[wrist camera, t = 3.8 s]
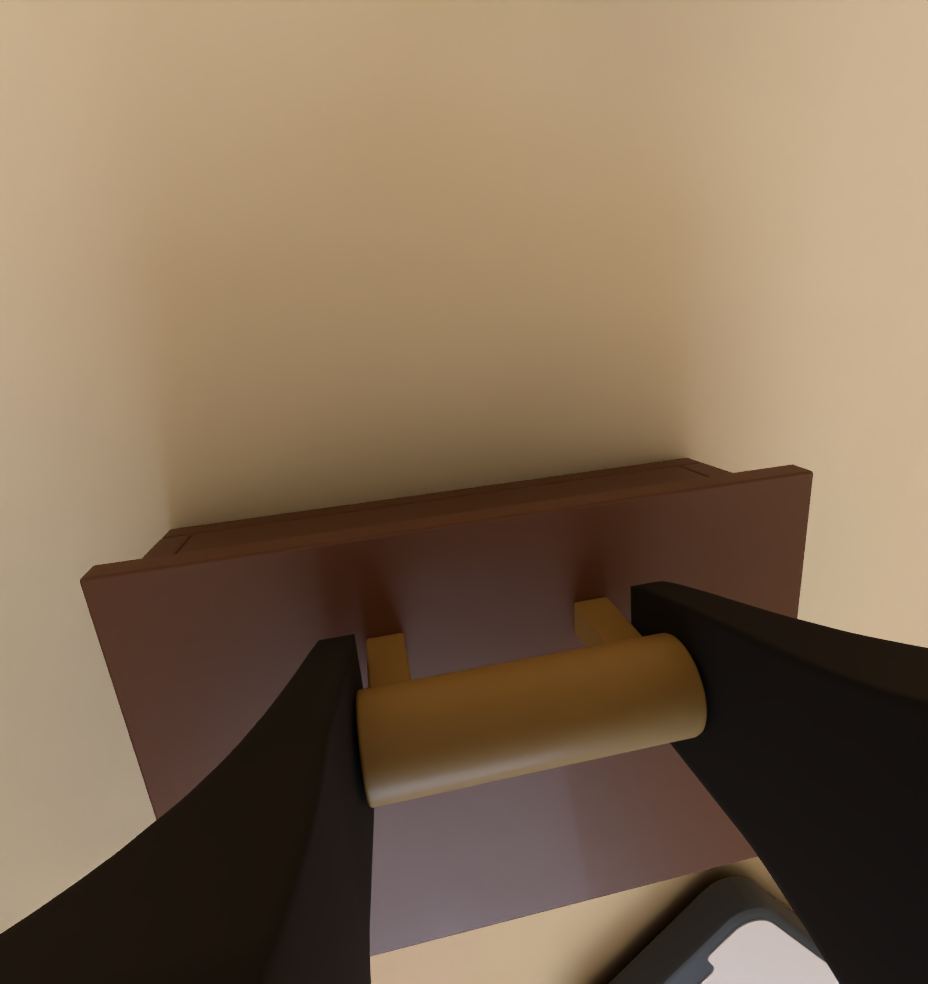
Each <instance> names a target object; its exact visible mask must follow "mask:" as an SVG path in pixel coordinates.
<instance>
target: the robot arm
mask: <svg viewBox="0 0 928 984" xmlns="http://www.w3.org/2000/svg"><path fill="white" fill-rule="evenodd" d="M630 587H631V624H632V626H633V627H634V628H635V629H636V630H637V631H638V632H639V633H640V634H641V635H642V637H643V636H649V635H654V634H659V633H668V634H671V635H673V636H675V637H676V638H678V639H679V640H680V641H681V642H682V643H683V645H684V646H685V647H686V649H687V650H688V652H689V653H690V655H691V657H692V658H693V660H694V662H695V664H696V667H697V669H698V671H699V674H700V677H701V680H702V683H703V687H704V691H705V696H706V703H707V719H706V724H705V727H704V730H703V731H702V733H701V734H699V735H698V736H697V737H694V738H689V739H685V740H680V741H676V742H671V743H670V744H671V745H672V746H673V748H674V749H675V750H676V752H677V753H678V754H679V755H680V757H681V758H682V759H683V761H684V762H685V763H686V764H687V766H688V767H689V768H690V769H691V771H692V772H693V773H694V774H695V776H696V777H697V778H698V780H699V781H700V782H701V783H702V785H703V786H704V787H705V788H706V790H707V791H708V792H709V793H710V795H711V796H712V797H713V798H714V800H715V801H716V802H717V803H718V805H719V806H720V807H721V809H722V810H723V811H724V812H725V814H726V815H727V816H728V817H729V819H730V820H731V821H732V822H733V824H734V825H735V826H736V827H737V829H738V830H739V831H740V832H741V834H742V835H743V836H744V838H745V839H746V841H747V842H748V843H749V845H750V846H751V847H752V849H753V850H754V851H755V853H756V854H757V856H758V857H759V858H760V860H761V861H762V863H763V864H764V866H765V867H766V869H767V870H768V872H769V873H770V875H771V876H772V878H773V879H774V881H775V882H776V884H777V886H778V887H779V889H780V890H781V892H782V893H783V895H784V896H785V898H786V899H787V901H788V902H789V904H790V905H791V907H792V909H793V910H794V912H795V913H796V915H797V916H798V918H799V919H800V921H801V922H802V924H803V926H804V927H805V929H806V930H807V932H808V934H809V935H810V937H811V939H812V940H813V942H814V943H815V945H816V947H817V948H818V950H819V952H820V953H821V955H822V956H823V958H824V960H825V961H826V963H827V965H828V966H829V968H830V969H831V971H832V973H833V974H834V976H835V977H836V979H837V981H838V982H839V984H928V648H925V647H919V646H913V645H908V644H903V643H898V642H893V641H888V640H883V639H878V638H873V637H868V636H863V635H859V634H854V633H850V632H846V631H841V630H837V629H834V628H830V627H826V626H822V625H818V624H814V623H811V622H807V621H803V620H799V619H795V618H792V617H788V616H785V615H781V614H778V613H775V612H771V611H768V610H764V609H761V608H758V607H754V606H751V605H748V604H745V603H741V602H738V601H735V600H732V599H728V598H725V597H722V596H719V595H715V594H712V593H709V592H705V591H702V590H699V589H695V588H691V587H688V586H684V585H680V584H676V583H671V582H665V581H658V582H652V583H646V584H640V585H634V586H630ZM360 689H363V684H362V678H361V671H360V665H359V659H358V653H357V646H356V640H355V634H352V635H346V636H340V637H335V638H329V639H323V640H319V641H318V642H317V643H316V644H315V646H314V647H313V648H312V650H311V651H310V652H309V654H308V655H307V657H306V658H305V660H304V661H303V662H302V664H301V665H300V667H299V668H298V670H297V671H296V672H295V674H294V675H293V677H292V678H291V680H290V681H289V682H288V684H287V685H286V686H285V688H284V689H283V690H282V692H281V693H280V694H279V696H278V697H277V698H276V700H275V701H274V702H273V703H272V705H271V706H270V707H269V709H268V710H267V711H266V713H265V714H264V715H263V716H262V717H261V719H260V720H259V721H258V722H257V723H256V724H255V726H254V727H253V728H252V729H251V730H250V731H249V733H248V734H247V735H246V736H245V737H244V738H243V740H242V741H241V742H240V743H239V744H238V745H237V746H236V747H235V748H234V749H233V750H232V752H231V753H230V754H229V755H228V756H227V757H226V758H225V759H224V760H223V761H222V762H221V763H220V764H219V765H218V766H217V767H216V768H215V769H214V770H213V771H212V772H211V773H210V774H208V775H207V776H206V777H205V778H204V779H203V780H202V781H201V782H200V783H199V784H198V785H197V786H196V787H195V788H194V789H193V790H192V791H191V792H189V793H188V794H187V795H186V796H185V797H184V798H183V799H182V800H181V801H179V802H178V803H177V804H176V805H175V806H173V807H172V808H171V809H170V810H168V811H167V812H166V813H165V814H164V815H162V816H161V817H160V818H159V819H158V820H156V821H155V822H154V823H153V824H151V825H150V826H149V827H148V828H147V829H145V830H144V831H143V832H142V833H141V834H139V835H138V836H137V837H136V838H135V839H133V840H132V841H131V842H130V843H128V844H127V845H126V846H125V847H124V848H122V849H121V850H120V851H118V852H117V853H116V854H115V855H113V856H112V857H111V858H109V859H108V860H106V861H105V862H104V863H102V864H101V865H100V866H98V867H97V868H96V869H94V870H93V871H92V872H90V873H89V874H87V875H86V876H85V877H83V878H82V879H81V880H79V881H78V882H77V883H75V884H74V885H72V886H71V887H69V888H68V889H66V890H65V891H64V892H62V893H61V894H59V895H58V896H56V897H55V898H53V899H52V900H51V901H49V902H48V903H46V904H45V905H43V906H42V907H41V908H39V909H38V910H36V911H35V912H33V913H32V914H30V915H29V916H27V917H26V918H24V919H23V920H21V921H20V922H18V923H17V924H15V925H14V926H12V927H11V928H9V929H8V930H6V931H5V932H3V933H1V934H0V984H371V976H370V911H371V885H372V859H373V832H374V808H372V807H370V806H369V804H368V802H367V798H366V794H365V788H364V782H363V776H362V769H361V761H360V753H359V744H358V734H357V722H356V693H357V691H358V690H360Z"/></svg>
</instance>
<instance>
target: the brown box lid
mask: <svg viewBox="0 0 928 984" xmlns="http://www.w3.org/2000/svg"><path fill="white" fill-rule="evenodd" d="M812 478H813V472H812V471H810V470H807V469H804V468H801V467H798V466H795V465H786V466H779V467H772V468H765V469H758V470H751V471H744V472H738V473H731V474H724V475H717V476H710V477H703V478H696V479H689V480H682V481H675V482H668V483H662V484H655V485H648V486H641V487H634V488H627V489H620V490H613V491H606V492H599V493H592V494H586V495H579V496H572V497H565V498H558V499H551V500H544V501H537V502H530V503H523V504H516V505H509V506H503V507H496V508H489V509H482V510H475V511H468V512H461V513H454V514H447V515H440V516H433V517H427V518H420V519H413V520H406V521H399V522H392V523H385V524H378V525H371V526H364V527H357V528H351V529H344V530H337V531H330V532H323V533H316V534H309V535H302V536H295V537H288V538H281V539H274V540H268V541H261V542H254V543H247V544H240V545H233V546H226V547H219V548H212V549H205V550H198V551H192V552H185V553H178V554H171V555H164V556H157V557H150V558H143V559H136V560H129V561H122V562H116V563H109V564H102V565H95V566H93V567H92V568H91V569H90V570H89V571H88V572H87V573H86V574H85V575H84V576H83V577H82V578H81V579H80V584H81V587H82V590H83V593H84V596H85V599H86V602H87V605H88V608H89V612H90V615H91V618H92V621H93V624H94V627H95V630H96V633H97V636H98V640H99V643H100V646H101V649H102V652H103V655H104V658H105V661H106V664H107V667H108V671H109V674H110V677H111V680H112V683H113V686H114V689H115V692H116V695H117V699H118V702H119V705H120V708H121V711H122V714H123V717H124V720H125V723H126V726H127V730H128V733H129V736H130V739H131V742H132V745H133V748H134V751H135V754H136V757H137V761H138V764H139V767H140V770H141V773H142V776H143V779H144V782H145V785H146V789H147V792H148V795H149V798H150V801H151V804H152V807H153V810H154V813H155V816H156V820H158V819H159V818H160V817H161V816H162V815H164V814H165V813H166V812H167V811H168V810H170V809H171V808H172V807H173V806H175V805H176V804H177V803H178V802H179V801H181V800H182V799H183V798H184V797H185V796H186V795H187V794H188V793H189V792H191V791H192V790H193V789H194V788H195V787H196V786H197V785H198V784H199V783H200V782H201V781H202V780H203V779H204V778H205V777H206V776H207V775H208V774H210V773H211V772H212V771H213V770H214V769H215V768H216V767H217V766H218V765H219V764H220V763H221V762H222V761H223V760H224V759H225V758H226V757H227V756H228V755H229V754H230V753H231V752H232V750H233V749H234V748H235V747H236V746H237V745H238V744H239V743H240V742H241V741H242V740H243V738H244V737H245V736H246V735H247V734H248V733H249V731H250V730H251V729H252V728H253V727H254V726H255V724H256V723H257V722H258V721H259V720H260V719H261V717H262V716H263V715H264V714H265V713H266V711H267V710H268V709H269V707H270V706H271V705H272V703H273V702H274V701H275V700H276V698H277V697H278V696H279V694H280V693H281V692H282V690H283V689H284V688H285V686H286V685H287V684H288V682H289V681H290V680H291V678H292V677H293V675H294V674H295V672H296V671H297V670H298V668H299V667H300V665H301V664H302V662H303V661H304V660H305V658H306V657H307V655H308V654H309V652H310V651H311V650H312V648H313V647H314V646H315V644H316V643H317V642H318V641H319V640H323V639H329V638H335V637H340V636H346V635H352V634H355V640H356V646H357V653H358V659H359V665H360V671H361V678H362V684H363V689H360V690H358V691H357V693H356V722H357V734H358V744H359V753H360V761H361V769H362V776H363V782H364V788H365V794H366V798H367V802H368V804H369V806H370V807H372V808H374V832H373V859H372V885H371V911H370V956H373V955H377V954H381V953H385V952H389V951H392V950H396V949H400V948H404V947H408V946H412V945H416V944H420V943H423V942H427V941H431V940H435V939H439V938H443V937H447V936H451V935H454V934H458V933H462V932H466V931H470V930H474V929H478V928H482V927H486V926H489V925H493V924H497V923H501V922H505V921H509V920H513V919H517V918H520V917H524V916H528V915H532V914H536V913H540V912H544V911H548V910H551V909H555V908H559V907H563V906H567V905H571V904H575V903H579V902H582V901H586V900H590V899H594V898H598V897H602V896H606V895H610V894H613V893H617V892H621V891H625V890H629V889H633V888H637V887H641V886H644V885H648V884H652V883H656V882H660V881H664V880H668V879H672V878H675V877H679V876H683V875H687V874H691V873H695V872H699V871H703V870H706V869H710V868H714V867H718V866H722V865H726V864H730V863H734V862H737V861H741V860H745V859H749V858H753V857H757V854H756V853H755V851H754V850H753V849H752V847H751V846H750V845H749V843H748V842H747V841H746V839H745V838H744V836H743V835H742V834H741V832H740V831H739V830H738V829H737V827H736V826H735V825H734V824H733V822H732V821H731V820H730V819H729V817H728V816H727V815H726V814H725V812H724V811H723V810H722V809H721V807H720V806H719V805H718V803H717V802H716V801H715V800H714V798H713V797H712V796H711V795H710V793H709V792H708V791H707V790H706V788H705V787H704V786H703V785H702V783H701V782H700V781H699V780H698V778H697V777H696V776H695V774H694V773H693V772H692V771H691V769H690V768H689V767H688V766H687V764H686V763H685V762H684V761H683V759H682V758H681V757H680V755H679V754H678V753H677V752H676V750H675V749H674V748H673V746H672V745H671V744H670V743H671V742H676V741H680V740H685V739H689V738H694V737H697V736H698V735H699V734H701V733H702V731H703V730H704V727H705V724H706V719H707V703H706V696H705V691H704V687H703V683H702V680H701V677H700V674H699V671H698V669H697V667H696V664H695V662H694V660H693V658H692V657H691V655H690V653H689V652H688V650H687V649H686V647H685V646H684V645H683V643H682V642H681V641H680V640H679V639H678V638H676V637H675V636H673V635H671V634H668V633H659V634H654V635H649V636H643V637H642V635H641V634H640V633H639V632H638V631H637V630H636V629H635V628H634V627H633V626H632V624H631V587H630V586H634V585H640V584H646V583H652V582H658V581H665V582H671V583H676V584H680V585H684V586H688V587H691V588H695V589H699V590H702V591H705V592H709V593H712V594H715V595H719V596H722V597H725V598H728V599H732V600H735V601H738V602H741V603H745V604H748V605H751V606H754V607H758V608H761V609H764V610H768V611H771V612H775V613H778V614H781V615H785V616H788V617H792V618H795V619H797V614H798V605H799V596H800V587H801V578H802V569H803V560H804V551H805V542H806V532H807V523H808V514H809V505H810V496H811V487H812Z"/></svg>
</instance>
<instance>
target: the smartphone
mask: <svg viewBox="0 0 928 984" xmlns="http://www.w3.org/2000/svg"><path fill="white" fill-rule="evenodd" d="M609 984H839V982H838V981H837V979H836V977H835V976H834V974H833V973H832V971H831V969H830V968H829V966H828V965H827V963H826V961H825V960H824V958H823V956H822V955H821V953H820V952H819V950H818V948H817V947H816V945H815V943H814V942H813V940H812V939H811V937H810V935H809V934H808V932H807V930H806V929H805V927H804V926H803V924H802V922H801V921H800V919H799V918H798V916H797V915H796V914H795V913H794V912H793V911H791V910H790V909H789V908H787V907H786V906H785V905H783V904H782V903H781V902H780V901H778V900H777V899H776V898H774V897H773V896H772V895H771V894H769V893H768V892H767V891H765V890H764V889H763V888H762V887H760V886H759V885H758V884H756V883H755V882H754V881H752V880H750V879H748V878H745V877H742V876H732V877H727V878H723V879H721V880H718V881H716V882H714V883H713V884H711V885H710V886H709V887H707V888H706V889H705V890H704V891H703V892H702V893H701V894H700V895H699V896H698V897H697V898H696V899H695V900H694V901H693V902H692V903H691V904H690V905H688V906H687V907H686V908H685V909H684V910H683V911H682V912H681V913H680V914H679V915H678V916H677V917H676V918H675V919H674V920H673V921H672V922H671V923H670V924H669V925H668V926H667V927H666V928H665V929H664V930H663V931H662V932H661V933H660V934H659V935H658V936H657V937H656V938H655V939H654V940H653V941H652V942H651V943H650V944H649V945H648V946H646V947H645V948H644V949H643V950H642V951H641V952H640V953H639V954H638V955H637V956H636V957H635V958H634V959H633V960H632V961H631V962H630V963H629V964H628V965H627V966H626V967H625V968H624V969H623V970H622V971H621V972H620V973H619V974H618V975H617V976H616V977H615V978H614V979H613V980H612V981H611V982H610V983H609Z"/></svg>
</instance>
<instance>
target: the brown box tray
mask: <svg viewBox="0 0 928 984" xmlns="http://www.w3.org/2000/svg"><path fill="white" fill-rule="evenodd" d="M724 474H731V472H728V471H725V470H722V469H719V468H716V467H713V466H710V465H707V464H704V463H701V462H698V461H695V460H692V459H689V458H684V459H677V460H670V461H663V462H655V463H648V464H641V465H634V466H627V467H619V468H612V469H605V470H598V471H590V472H583V473H576V474H569V475H562V476H554V477H547V478H540V479H533V480H525V481H518V482H511V483H504V484H497V485H489V486H482V487H475V488H468V489H460V490H453V491H446V492H439V493H432V494H424V495H417V496H410V497H403V498H395V499H388V500H381V501H374V502H367V503H359V504H352V505H345V506H338V507H330V508H323V509H316V510H309V511H302V512H294V513H287V514H280V515H273V516H265V517H258V518H251V519H244V520H237V521H229V522H222V523H215V524H208V525H200V526H193V527H186V528H179V529H172V530H170V531H169V532H168V533H167V534H166V535H165V536H164V537H163V538H162V539H161V540H159V542H158V543H157V544H156V545H155V546H154V547H153V548H152V549H151V550H150V551H149V552H148V553H147V554H146V555H145V556H144V557H143V558H150V557H157V556H164V555H171V554H178V553H185V552H192V551H198V550H205V549H212V548H219V547H226V546H233V545H240V544H247V543H254V542H261V541H268V540H274V539H281V538H288V537H295V536H302V535H309V534H316V533H323V532H330V531H337V530H344V529H351V528H357V527H364V526H371V525H378V524H385V523H392V522H399V521H406V520H413V519H420V518H427V517H433V516H440V515H447V514H454V513H461V512H468V511H475V510H482V509H489V508H496V507H503V506H509V505H516V504H523V503H530V502H537V501H544V500H551V499H558V498H565V497H572V496H579V495H586V494H592V493H599V492H606V491H613V490H620V489H627V488H634V487H641V486H648V485H655V484H662V483H668V482H675V481H682V480H689V479H696V478H703V477H710V476H717V475H724ZM143 558H142V559H143Z"/></svg>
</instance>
